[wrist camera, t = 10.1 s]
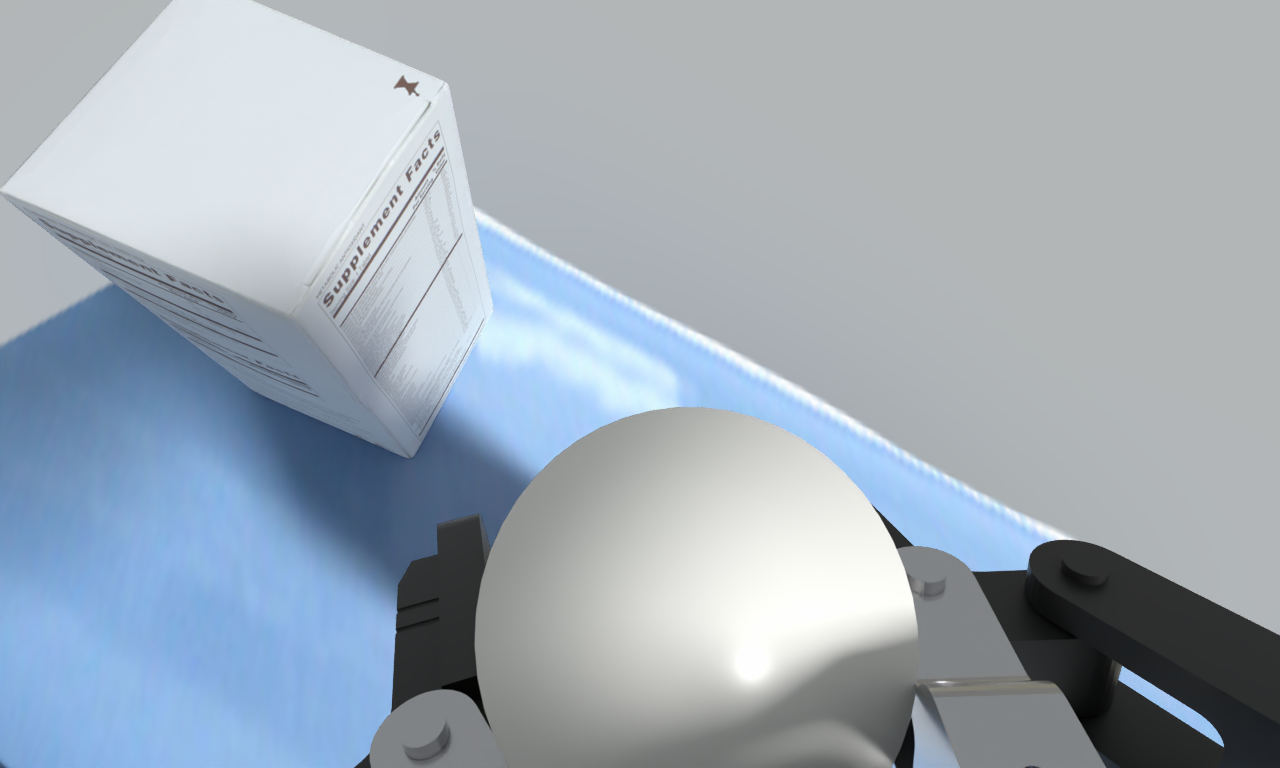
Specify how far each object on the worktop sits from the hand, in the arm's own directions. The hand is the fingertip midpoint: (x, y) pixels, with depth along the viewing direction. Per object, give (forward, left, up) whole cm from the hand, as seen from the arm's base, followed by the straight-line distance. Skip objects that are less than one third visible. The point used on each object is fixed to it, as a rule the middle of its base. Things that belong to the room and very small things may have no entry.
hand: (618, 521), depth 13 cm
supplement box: (-15, +7, -22) cm, 27 cm away
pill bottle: (+1, -1, -4) cm, 5 cm away
